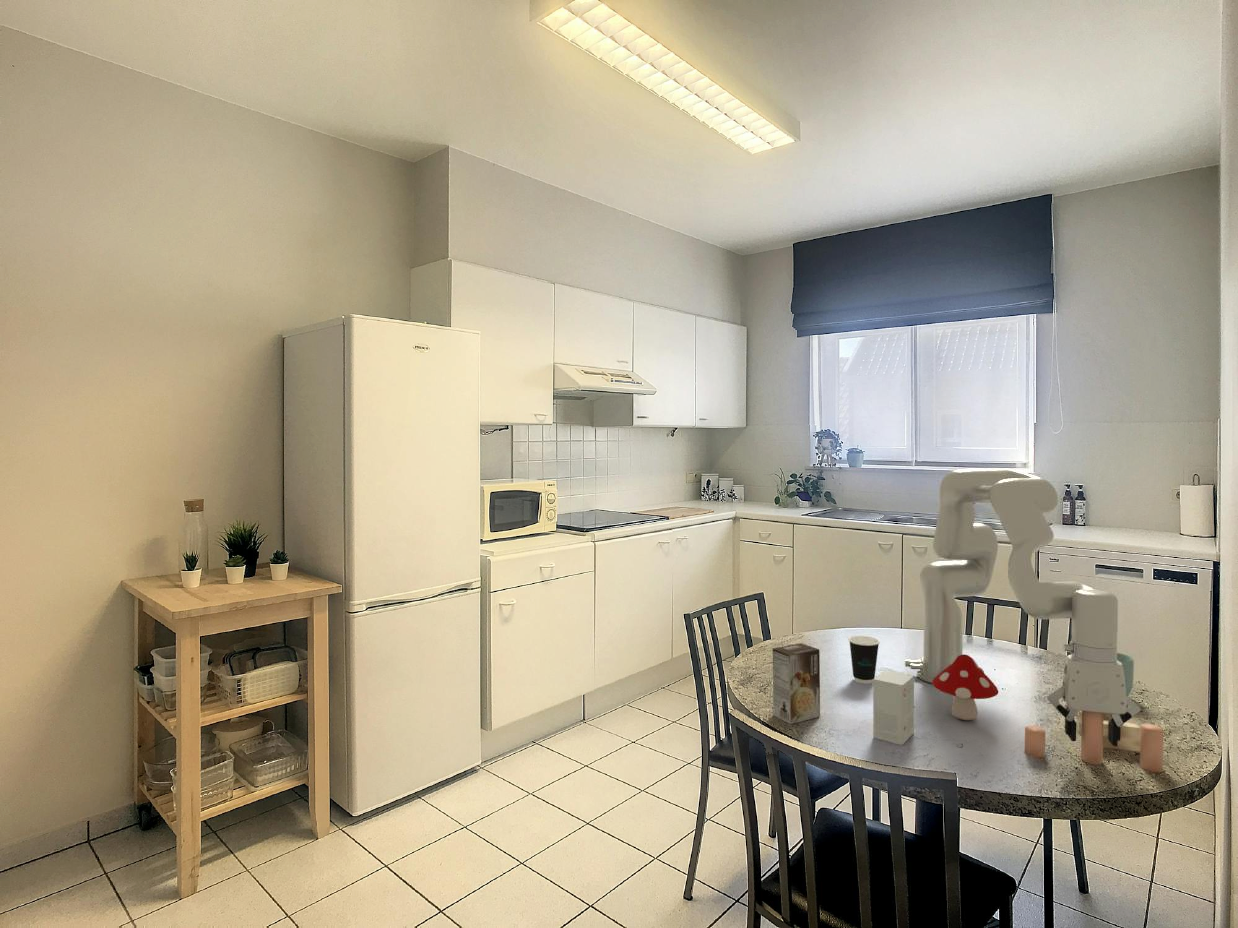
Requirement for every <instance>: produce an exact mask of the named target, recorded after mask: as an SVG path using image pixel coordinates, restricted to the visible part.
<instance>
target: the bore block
mask: <svg viewBox="0 0 1238 928" xmlns="http://www.w3.org/2000/svg"><path fill="white" fill-rule="evenodd" d="M1075 717H1076V720H1075V722H1076V731H1078V732H1077V733H1079V735H1081V728H1082V711H1079V710H1078V712H1077V714H1076V716H1075ZM1109 720H1110V721H1111V717H1110V714H1106V713H1104V721H1103V749H1112V750H1113V749H1114V750H1122V751H1129V752H1138V753H1140V725H1138V724H1137V723H1136V722H1135V720H1133V719H1132V718H1131V719H1129V720H1128V721H1127V722H1125V723H1124V724H1123V726H1122V727H1121V734H1120V741H1118V745H1117V746H1113V745H1112V744H1111V743H1110V741H1109V740H1108V722H1109Z"/></svg>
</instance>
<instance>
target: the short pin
mask: <svg viewBox="0 0 1238 928" xmlns="http://www.w3.org/2000/svg"><path fill="white" fill-rule="evenodd" d="M1024 753H1025V754H1026V755H1028V756H1030V757H1033V758H1041V759H1042V758H1045V757H1046V730H1045V729H1044V728H1042V727H1040V726H1036V725H1035V726H1034V725H1027V726H1024Z"/></svg>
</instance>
